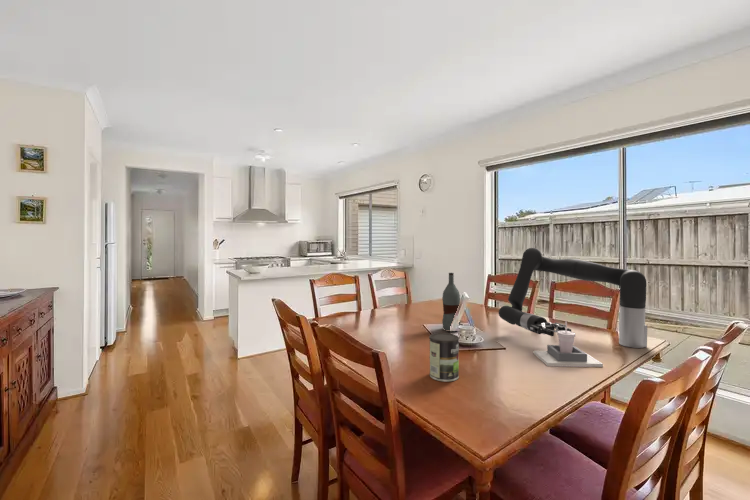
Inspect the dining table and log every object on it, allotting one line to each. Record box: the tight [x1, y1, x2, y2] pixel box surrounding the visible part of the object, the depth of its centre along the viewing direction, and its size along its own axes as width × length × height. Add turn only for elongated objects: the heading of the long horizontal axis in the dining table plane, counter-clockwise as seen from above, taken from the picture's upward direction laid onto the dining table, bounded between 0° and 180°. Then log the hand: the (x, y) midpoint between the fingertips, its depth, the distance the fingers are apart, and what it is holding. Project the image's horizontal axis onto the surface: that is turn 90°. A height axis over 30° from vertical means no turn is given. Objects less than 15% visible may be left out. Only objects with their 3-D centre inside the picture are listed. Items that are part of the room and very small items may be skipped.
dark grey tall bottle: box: [442, 272, 461, 330], centre depth 183 cm, size 9×9×30 cm
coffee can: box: [428, 332, 460, 383], centre depth 124 cm, size 10×10×14 cm
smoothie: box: [556, 320, 576, 353], centre depth 138 cm, size 6×6×14 cm
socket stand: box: [533, 344, 604, 368], centre depth 138 cm, size 20×14×4 cm
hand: (562, 332), depth 140 cm, fingers open, 8 cm apart
